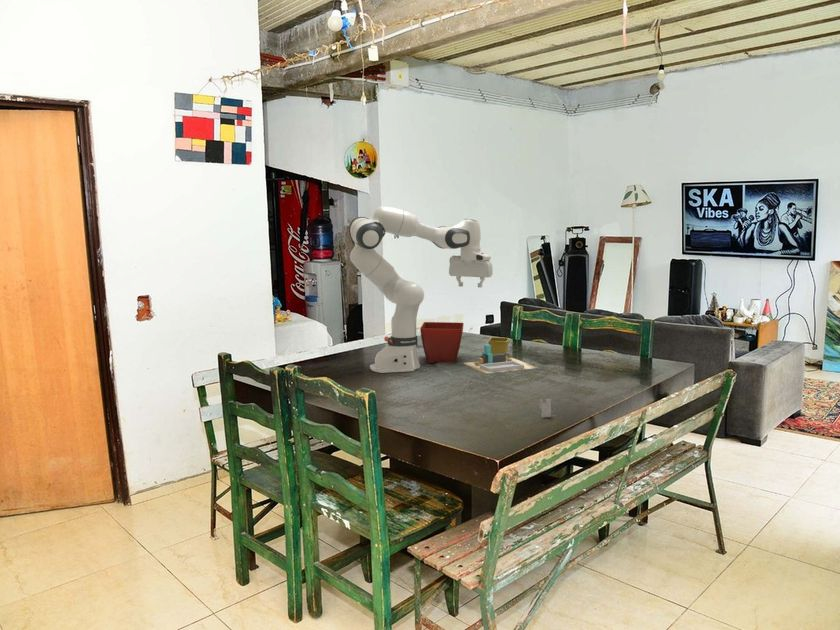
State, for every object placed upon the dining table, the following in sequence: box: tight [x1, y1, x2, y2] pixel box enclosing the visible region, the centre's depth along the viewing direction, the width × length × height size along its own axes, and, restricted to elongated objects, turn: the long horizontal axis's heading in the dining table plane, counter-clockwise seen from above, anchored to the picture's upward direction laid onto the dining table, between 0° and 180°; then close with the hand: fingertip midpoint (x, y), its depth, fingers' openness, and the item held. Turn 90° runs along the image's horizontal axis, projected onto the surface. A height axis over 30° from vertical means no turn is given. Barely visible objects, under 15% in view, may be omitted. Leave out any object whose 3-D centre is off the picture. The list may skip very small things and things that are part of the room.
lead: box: [478, 353, 508, 364], centre depth 301 cm, size 13×3×4 cm, turn 112°
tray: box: [480, 361, 525, 373], centre depth 293 cm, size 17×9×2 cm, turn 112°
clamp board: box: [462, 357, 538, 374], centre depth 298 cm, size 26×22×3 cm
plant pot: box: [419, 321, 464, 364], centre depth 313 cm, size 19×19×17 cm
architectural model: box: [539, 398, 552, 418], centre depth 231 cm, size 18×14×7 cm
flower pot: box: [488, 337, 510, 355], centre depth 319 cm, size 9×9×9 cm
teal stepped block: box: [481, 343, 493, 364], centre depth 300 cm, size 2×6×8 cm, turn 22°
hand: (470, 286), depth 301 cm, fingers open, 8 cm apart
